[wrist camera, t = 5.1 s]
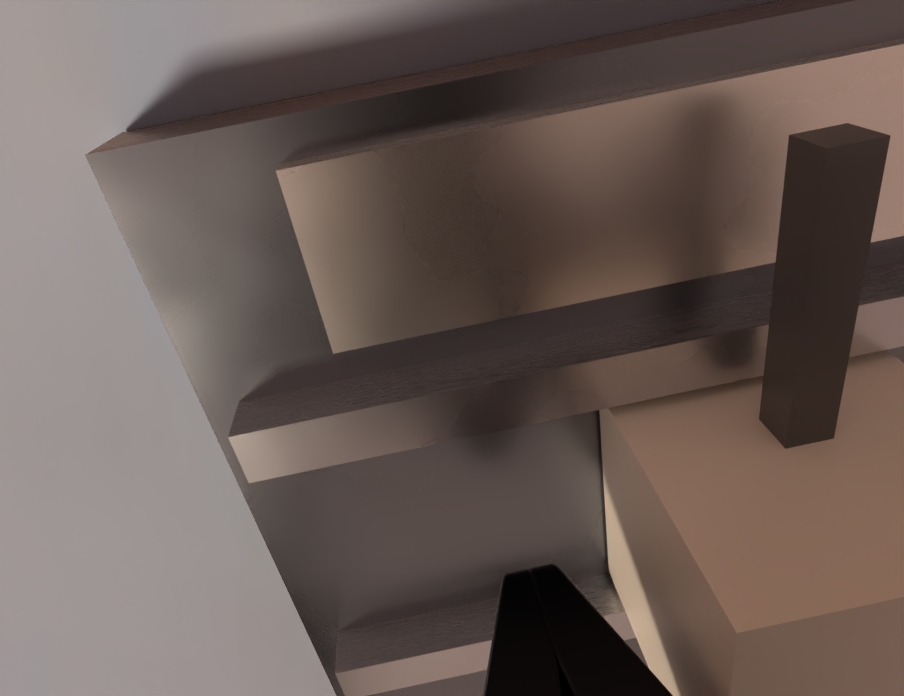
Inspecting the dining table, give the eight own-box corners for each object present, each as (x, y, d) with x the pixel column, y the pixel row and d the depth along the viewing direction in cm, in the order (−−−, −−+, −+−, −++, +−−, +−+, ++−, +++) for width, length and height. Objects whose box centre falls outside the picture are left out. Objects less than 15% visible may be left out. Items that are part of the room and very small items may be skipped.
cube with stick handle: (608, 570, 11) (715, 830, 8) (583, 140, 7) (775, 278, 4) (826, 525, 11) (1026, 761, 8) (914, 73, 7) (1391, 151, 4)
